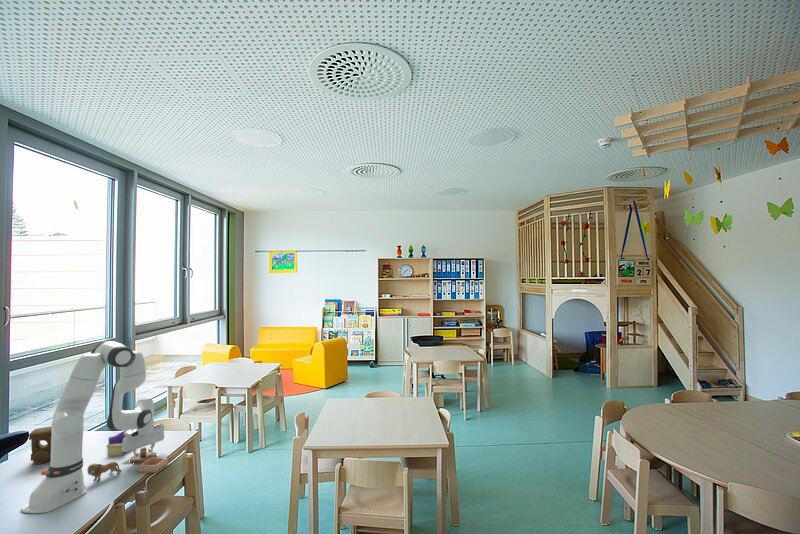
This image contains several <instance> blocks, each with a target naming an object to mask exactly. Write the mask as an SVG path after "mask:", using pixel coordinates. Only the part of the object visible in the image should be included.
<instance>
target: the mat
mask: <svg viewBox="0 0 800 534" xmlns="http://www.w3.org/2000/svg"><path fill="white" fill-rule="evenodd" d="M155 453H156V454H157V453H158V452H155ZM157 457H158V456H157V455H156V457H155V458H157ZM158 458H159V457H158ZM129 461H130V460H129V459H126V461H124V462H122V463H121V465H130V464H133V463H130V462H129ZM140 464H142V463H138V464H133V466H135V465H137V466H139V465H140Z"/></svg>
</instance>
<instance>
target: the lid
mask: <svg viewBox="0 0 800 534" xmlns="http://www.w3.org/2000/svg"><path fill="white" fill-rule="evenodd" d="M138 453H139V454H138V456H137V457H134V455H132V456H131V457H130V458H129V459H130V463H134V464H138V463H143V462H145V461H146V460H148V459H149V458H151V457H154V458H155V457H156V453H157V452H155V451H152V452H148V451H147V446H144V447H141V448H140V451H139V452H138Z"/></svg>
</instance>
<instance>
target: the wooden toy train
mask: <svg viewBox="0 0 800 534" xmlns="http://www.w3.org/2000/svg"><path fill="white" fill-rule="evenodd" d="M51 432H52V425H51V426H46V427H45V426H43V427H39V428H34V429H33V430H32V431H31V432H30V433H29V434H28V439H29V441H30V442H31V444H30V445H31V454H30V461H32V462H33V463H35V464H37V465H40V464H41V465H42V464H45V463H47V462H48V461H49V459H51ZM41 441H45V442H46V444H42V442H41Z"/></svg>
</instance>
